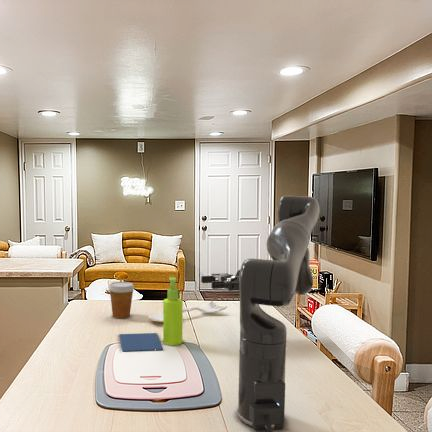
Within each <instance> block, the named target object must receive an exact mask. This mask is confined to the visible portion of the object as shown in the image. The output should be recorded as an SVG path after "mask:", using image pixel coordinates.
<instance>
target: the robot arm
mask: <svg viewBox="0 0 432 432" xmlns="http://www.w3.org/2000/svg"><path fill="white" fill-rule="evenodd" d="M276 212H277V213H276V216H277V223H276V225H274V226H273V228H272V229H271V230H270V233H269V235H268V237H267V239H266V244H265V245H266V251H267V253H268V255H269V257H270V258H271V259H263V258H246V259H245V260H243V262H242V264H241V266H240V269H238V270H237V271H236V274H235V275H234V274H232V273H228V272H227V273H211V275H201V278H200V282H201V283H202V284H211V285H210V286H211V289H213V290H221V289H222V290H226V291H227V290H228V291H229V292H231V291H232V292H233V291H238V292H239V327H240V328H239V357H238V358H239V359H238V391H237V392H238V394H237V395H238V397H237V398H238V399H237V417H238V419H239V421H241V422H242V423H243V424H245V425H247V426H249V427H251V428H252V429H253V430H254V431H264V430H266V432H272V430H280V429H281V430H282V429H284V428H285V408H286V360H287V333H288V331H287V327H286V325H285V324H284V323H283V322H282V321H281V320H279V319H277V318H275V317H273V316H272V315H270V314H269V313H267V312H265V310H263V309H262V308H261V306H268V307H275V308H283V307H288V306H289V305H290V304H291V303H292V302H293V299H294V298H295V294H297V295H300V296H302V295H303V296H304V295H306V294H309V293H310V292H311V291H312V289H313V287H314V277H313V273H312V270H311V267H310V249H309V245H310V240H311V235H312V233H313V232H314V230H315V228H316V226H317V224H318V221H319V218H320V216H321V215H320V214H321V206H320V203H319V200H318V199H317V198H315V197H313V196H307V195H292V194H291V195H289V194H287V195H283V196H281V197H280V199H279V201H278V205H277V211H276ZM216 278H217V279H216ZM260 305H261V306H260Z"/></svg>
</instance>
